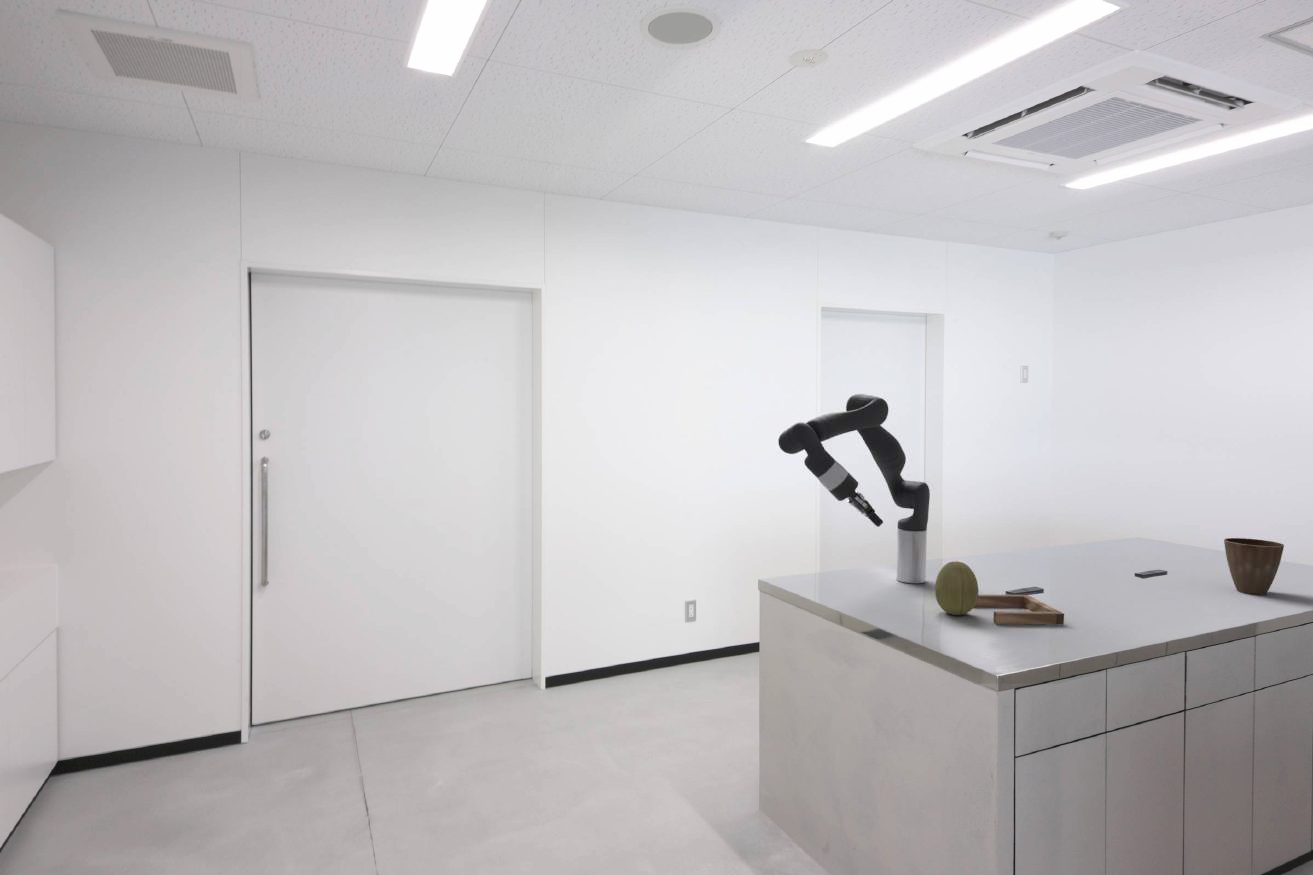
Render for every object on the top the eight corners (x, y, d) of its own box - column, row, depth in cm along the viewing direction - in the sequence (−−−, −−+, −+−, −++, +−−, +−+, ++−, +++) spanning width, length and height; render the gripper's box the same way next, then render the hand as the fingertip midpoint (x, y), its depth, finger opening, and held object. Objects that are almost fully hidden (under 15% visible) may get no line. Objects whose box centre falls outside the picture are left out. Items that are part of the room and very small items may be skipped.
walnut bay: (966, 604, 224) (966, 594, 224) (1027, 604, 224) (1027, 594, 224) (996, 624, 204) (997, 613, 204) (1063, 624, 204) (1064, 613, 204)
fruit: (967, 608, 220) (968, 557, 219) (985, 619, 208) (986, 565, 208) (928, 608, 219) (929, 557, 218) (943, 619, 208) (945, 565, 207)
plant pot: (1219, 584, 250) (1221, 536, 250) (1277, 590, 243) (1279, 540, 242) (1225, 594, 238) (1227, 543, 237) (1286, 600, 230) (1288, 548, 229)
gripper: (853, 473, 205) (897, 518, 206) (840, 468, 218) (882, 511, 219) (833, 492, 205) (877, 537, 206) (822, 487, 218) (863, 529, 219)
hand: (880, 524), depth 212 cm, fingers closed
